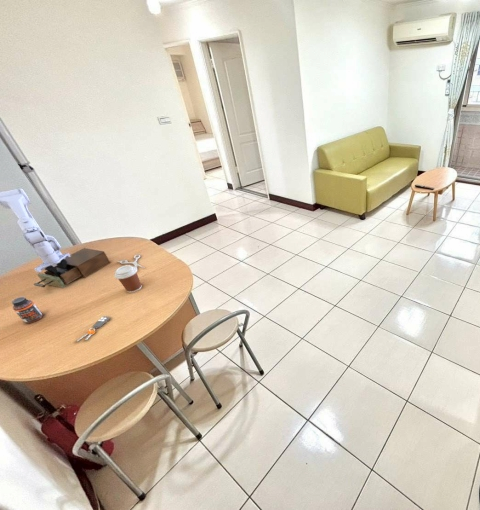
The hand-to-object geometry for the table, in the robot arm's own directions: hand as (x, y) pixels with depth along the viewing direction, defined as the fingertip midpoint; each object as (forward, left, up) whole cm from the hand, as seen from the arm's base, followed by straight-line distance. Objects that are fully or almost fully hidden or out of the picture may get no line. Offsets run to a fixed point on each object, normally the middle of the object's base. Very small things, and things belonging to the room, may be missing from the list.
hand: (62, 275), depth 141 cm
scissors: (+22, +21, -3) cm, 31 cm away
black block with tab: (0, 0, -1) cm, 1 cm away
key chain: (+47, -22, -4) cm, 52 cm away
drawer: (0, -1, -3) cm, 3 cm away
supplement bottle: (+15, -24, -4) cm, 29 cm away
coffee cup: (+40, +4, -4) cm, 41 cm away
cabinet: (0, +12, -3) cm, 12 cm away
